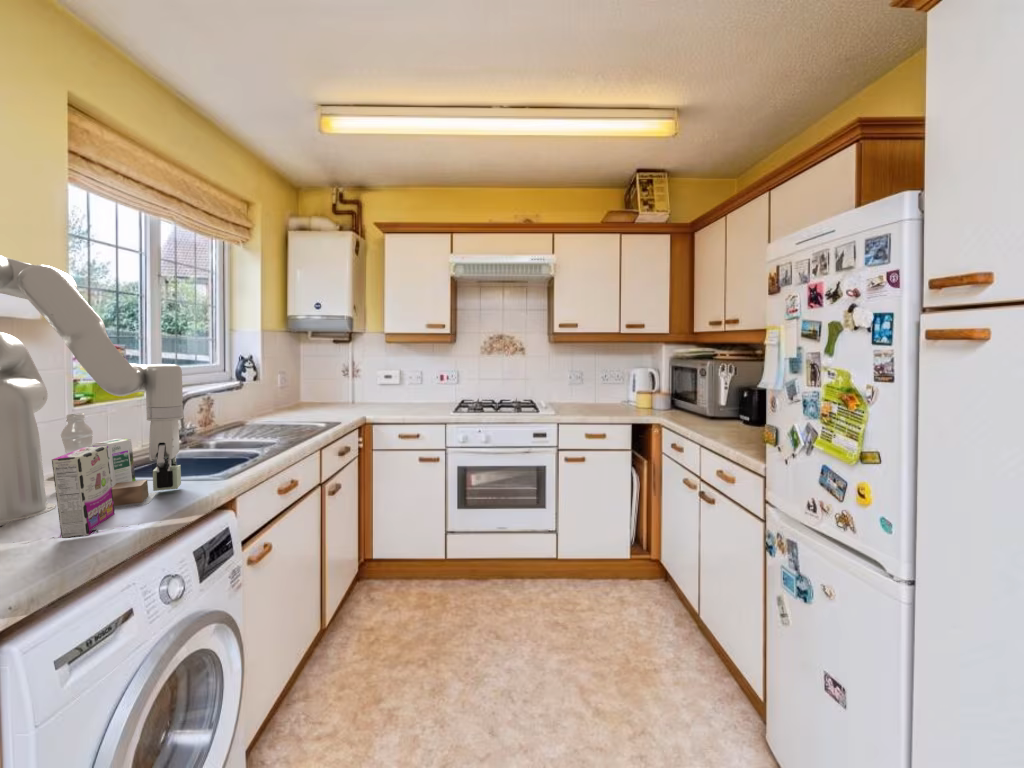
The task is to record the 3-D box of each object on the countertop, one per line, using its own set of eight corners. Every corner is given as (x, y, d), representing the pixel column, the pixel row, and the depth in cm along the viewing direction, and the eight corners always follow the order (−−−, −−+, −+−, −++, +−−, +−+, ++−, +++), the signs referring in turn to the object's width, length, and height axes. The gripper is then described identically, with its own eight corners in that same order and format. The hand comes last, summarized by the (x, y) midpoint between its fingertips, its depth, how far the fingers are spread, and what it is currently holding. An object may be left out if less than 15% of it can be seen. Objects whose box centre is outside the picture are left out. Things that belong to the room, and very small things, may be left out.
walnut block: (111, 506, 114) (109, 489, 114) (118, 499, 119) (117, 483, 119) (142, 502, 116) (141, 485, 116) (148, 495, 122) (147, 479, 121)
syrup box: (115, 500, 121) (110, 443, 120) (96, 499, 123) (90, 442, 121) (137, 493, 127) (132, 438, 126) (118, 492, 128) (113, 438, 127)
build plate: (100, 514, 112) (100, 509, 111) (113, 501, 120) (113, 497, 120) (148, 507, 115) (148, 503, 115) (158, 496, 124) (157, 492, 124)
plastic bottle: (96, 485, 135) (89, 414, 133) (64, 490, 131) (56, 416, 130) (100, 480, 140) (93, 411, 139) (68, 485, 137) (61, 414, 135)
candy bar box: (89, 520, 108) (81, 447, 106) (116, 517, 109) (109, 445, 108) (58, 539, 97) (49, 458, 96) (88, 536, 98) (80, 456, 97)
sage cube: (153, 490, 121) (152, 471, 121) (157, 485, 125) (157, 466, 125) (177, 488, 123) (176, 469, 123) (181, 483, 128) (180, 464, 127)
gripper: (154, 410, 129) (157, 477, 130) (138, 418, 114) (140, 495, 115) (188, 409, 132) (190, 475, 133) (176, 416, 117) (178, 491, 118)
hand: (167, 483), depth 124 cm, fingers closed on sage cube, 5 cm apart
